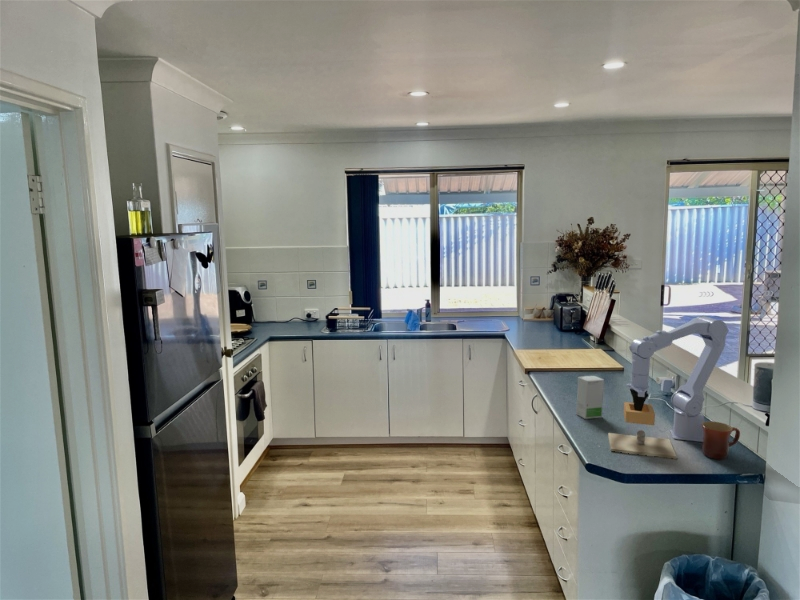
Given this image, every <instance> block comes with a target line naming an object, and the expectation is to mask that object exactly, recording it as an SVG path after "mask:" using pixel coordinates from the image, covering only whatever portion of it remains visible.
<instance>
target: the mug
mask: <svg viewBox="0 0 800 600" xmlns="http://www.w3.org/2000/svg"><path fill="white" fill-rule="evenodd" d="M702 428H703V432H704V436H703V442H702V446H701V448H702V449H701V450H702V453H703V454H704V456H706V457H707V458H710V459H713V460H725V459H726V458H728V456H729V451H730V450H729V447H733V446H734V445H736V444H737V443H738V442H739V439H740V436H741V432H740V430H739V429H738V428H737V427H732V426H731V425H728V424H727V423H723V422H719V421H711V420H710V421H707V420H706V421H704V422H703V423H702ZM733 432H735V434H734V438H733V439H732V440H731V441H730V437H731V434H732V433H733Z"/></svg>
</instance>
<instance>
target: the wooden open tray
mask: <svg viewBox="0 0 800 600" xmlns="http://www.w3.org/2000/svg"><path fill="white" fill-rule="evenodd" d="M623 417H624V420H625V423H630V424H637V425H638V424H639V425H648V426H655V420H656V419H655V418H656V413H655V409H654V408H653V404H650V403H649V404H648V403H644V405H643V409H642V411H635V409H634V403H633V402H627V401H624V402H623Z"/></svg>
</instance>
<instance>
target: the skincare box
mask: <svg viewBox="0 0 800 600" xmlns="http://www.w3.org/2000/svg"><path fill="white" fill-rule="evenodd" d="M576 391H577V392H576V394H577V395H576V409H575V414H576V415H577V416H579V417H580V418H582V419H584V420H587V419H601V418H603V405H604V391H605V379H604V378H601V377H599V376H596V375H584V376H578V377H577V390H576Z"/></svg>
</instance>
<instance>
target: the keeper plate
mask: <svg viewBox="0 0 800 600" xmlns="http://www.w3.org/2000/svg"><path fill="white" fill-rule="evenodd" d="M607 438H608V445H609V450H610V452H611V451H615V452H614V453H620V452H622V453H621V454H628V453H629V455H637V454H639V455H640V456H645V455H647V456H648V457H654V456H659V457H658V458H663V457H667V458H666V459H671V458H673V459H672V460H677V458H678V457H677V454H676V451H675V449H674V447H673V445H672V443H671V441H670V439H669V438H659V437H652V436H651V437H650V436H646V433H645V431H644V430H643V429H642V430H641V429H640V430H638V431H637V433H636V435H630V434H621V433H613V432H608V433H607ZM639 455H638V456H639Z"/></svg>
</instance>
